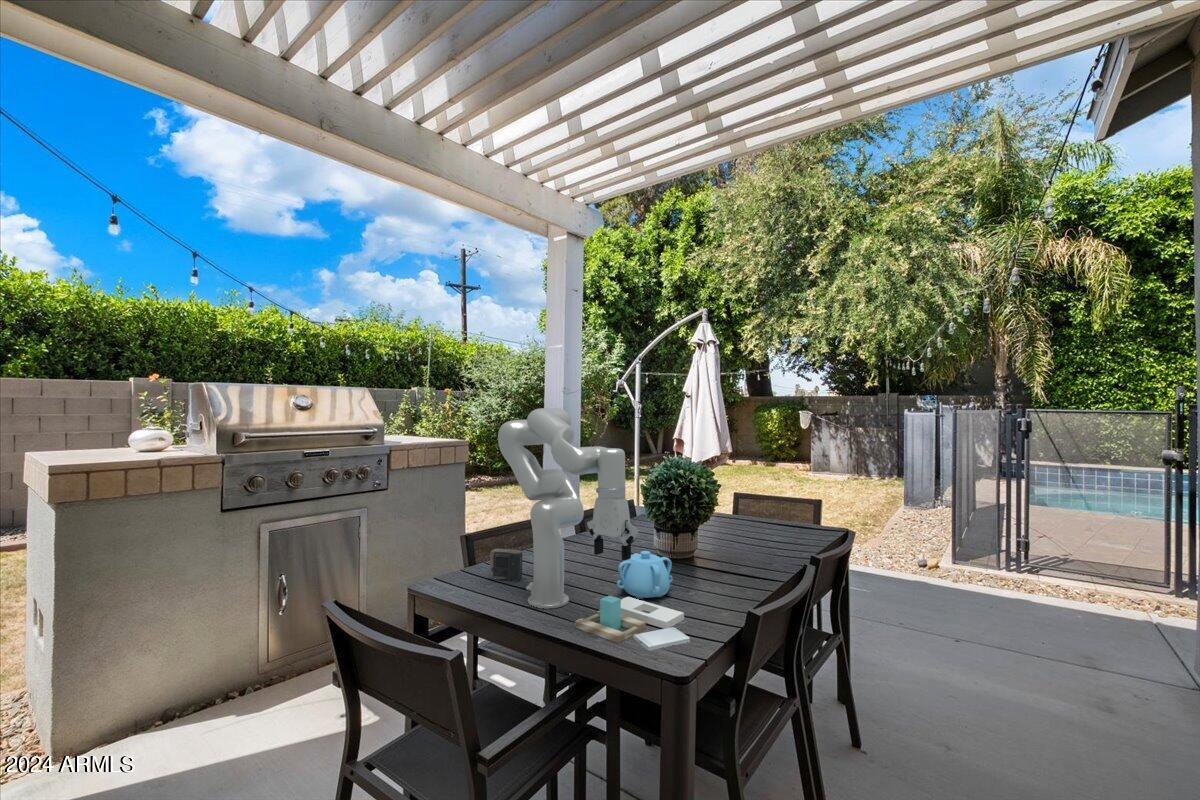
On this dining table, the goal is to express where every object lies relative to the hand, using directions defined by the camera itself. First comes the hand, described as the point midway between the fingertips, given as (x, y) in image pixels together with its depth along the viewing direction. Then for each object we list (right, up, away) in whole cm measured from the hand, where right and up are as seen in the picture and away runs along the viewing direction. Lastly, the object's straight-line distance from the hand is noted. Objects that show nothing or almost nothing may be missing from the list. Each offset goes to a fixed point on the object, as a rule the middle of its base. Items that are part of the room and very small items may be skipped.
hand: (612, 556), depth 150 cm
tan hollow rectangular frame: (-1, -20, 0) cm, 20 cm away
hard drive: (+13, -20, -7) cm, 25 cm away
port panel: (+10, -20, +9) cm, 24 cm away
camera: (-36, -20, +42) cm, 59 cm away
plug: (-1, -20, 0) cm, 20 cm away
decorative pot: (+11, -20, +28) cm, 36 cm away
